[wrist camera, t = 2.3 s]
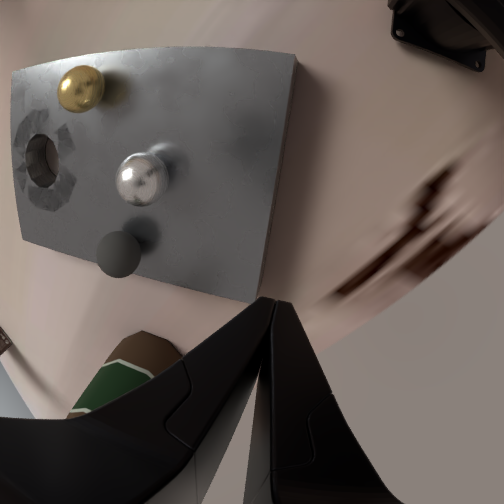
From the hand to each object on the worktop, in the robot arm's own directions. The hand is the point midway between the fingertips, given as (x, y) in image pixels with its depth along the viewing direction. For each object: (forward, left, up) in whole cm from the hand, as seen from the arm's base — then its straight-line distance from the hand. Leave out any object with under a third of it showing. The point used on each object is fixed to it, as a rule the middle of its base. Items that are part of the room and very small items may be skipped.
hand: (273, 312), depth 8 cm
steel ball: (+9, 0, -9) cm, 13 cm away
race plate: (+13, 0, -13) cm, 18 cm away
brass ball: (+14, -5, -9) cm, 17 cm away
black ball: (+11, +6, -9) cm, 15 cm away
